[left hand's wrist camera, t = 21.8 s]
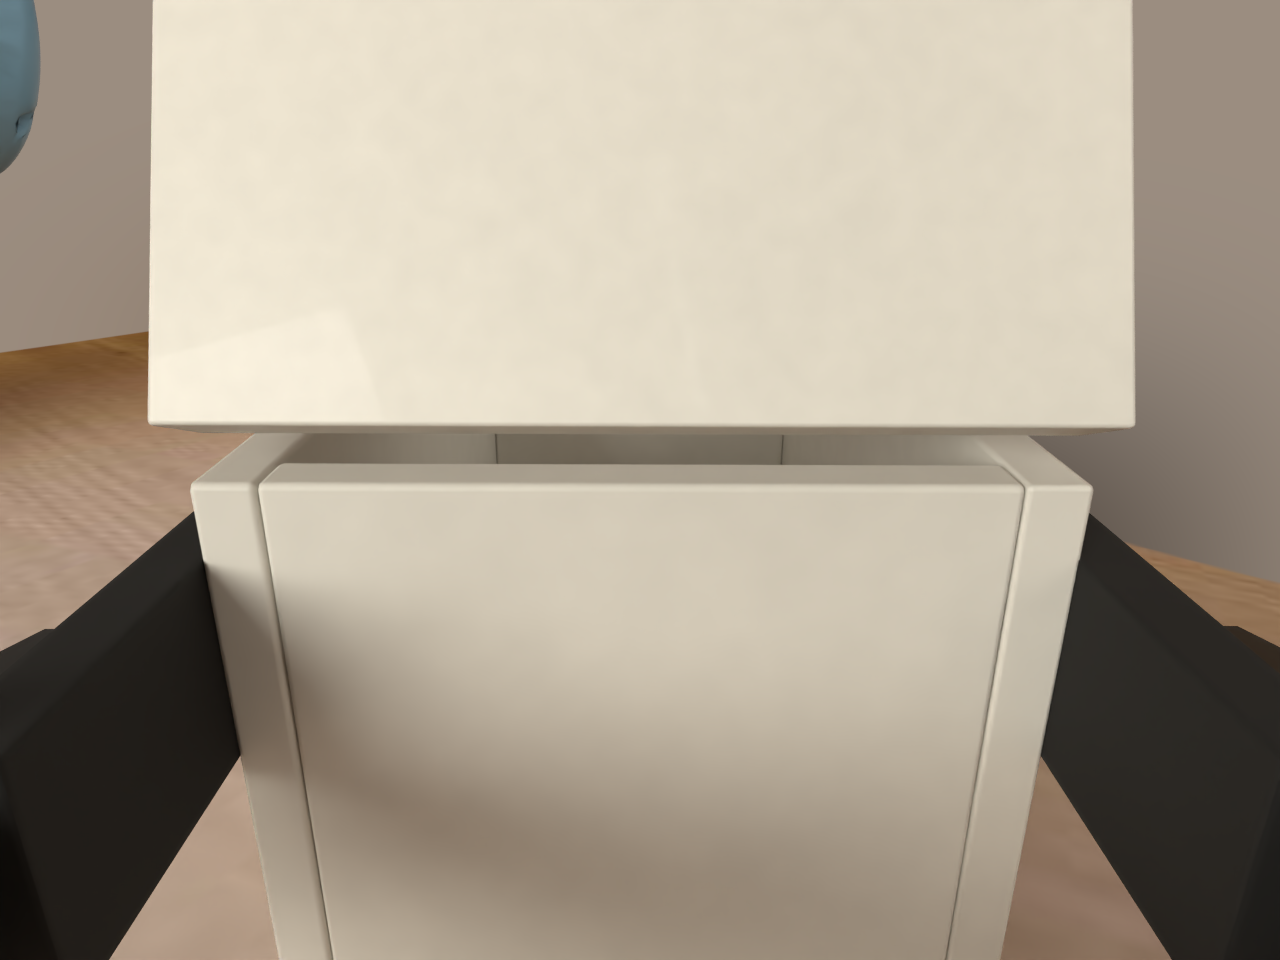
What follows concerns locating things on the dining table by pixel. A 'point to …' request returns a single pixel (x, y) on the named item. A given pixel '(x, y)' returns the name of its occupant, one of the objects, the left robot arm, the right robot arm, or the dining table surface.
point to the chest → (640, 688)
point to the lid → (642, 217)
